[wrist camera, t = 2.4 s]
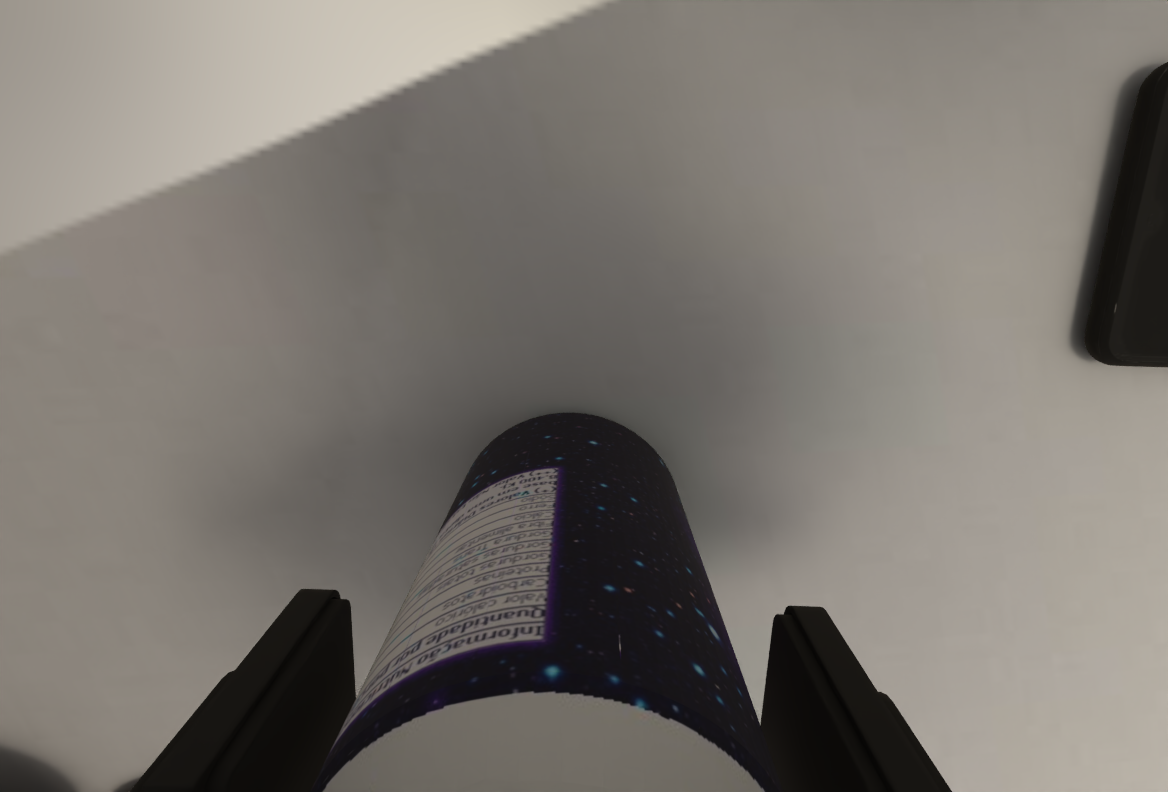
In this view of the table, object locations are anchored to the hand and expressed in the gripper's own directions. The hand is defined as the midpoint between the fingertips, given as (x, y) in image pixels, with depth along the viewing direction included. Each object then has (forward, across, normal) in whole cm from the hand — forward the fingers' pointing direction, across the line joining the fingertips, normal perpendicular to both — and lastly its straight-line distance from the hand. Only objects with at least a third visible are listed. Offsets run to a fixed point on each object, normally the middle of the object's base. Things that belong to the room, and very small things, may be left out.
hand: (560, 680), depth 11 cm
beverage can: (+7, 0, 0) cm, 7 cm away
